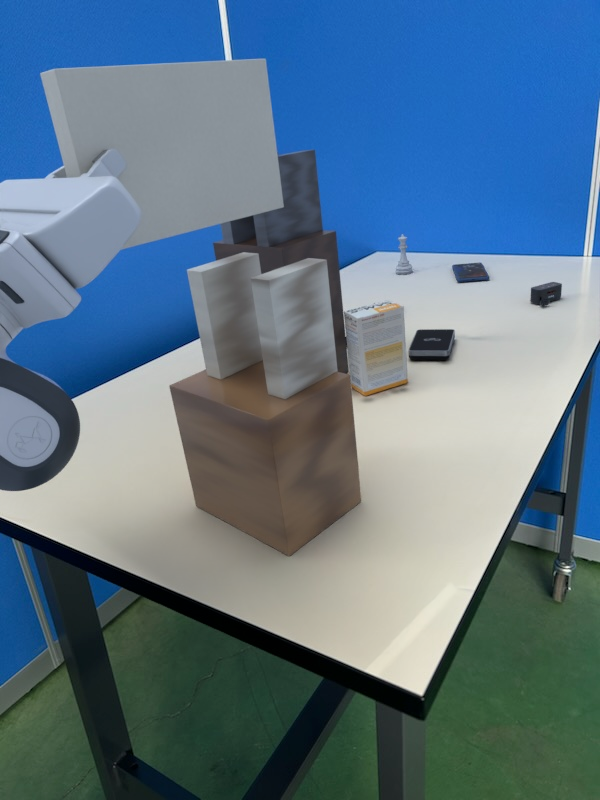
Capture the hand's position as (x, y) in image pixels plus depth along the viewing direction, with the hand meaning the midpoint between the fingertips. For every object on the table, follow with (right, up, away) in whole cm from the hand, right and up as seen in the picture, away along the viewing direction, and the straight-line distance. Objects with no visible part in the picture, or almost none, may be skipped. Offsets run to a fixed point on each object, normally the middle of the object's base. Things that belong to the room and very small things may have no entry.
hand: (105, 156), depth 52 cm
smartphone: (+59, +11, +103) cm, 119 cm away
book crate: (+14, -33, +21) cm, 41 cm away
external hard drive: (+40, -12, +60) cm, 73 cm away
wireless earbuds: (+67, 0, +76) cm, 102 cm away
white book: (+6, -4, +8) cm, 11 cm away
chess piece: (+44, +13, +112) cm, 121 cm away
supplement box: (+29, -18, +49) cm, 59 cm away
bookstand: (+15, -16, +57) cm, 61 cm away
